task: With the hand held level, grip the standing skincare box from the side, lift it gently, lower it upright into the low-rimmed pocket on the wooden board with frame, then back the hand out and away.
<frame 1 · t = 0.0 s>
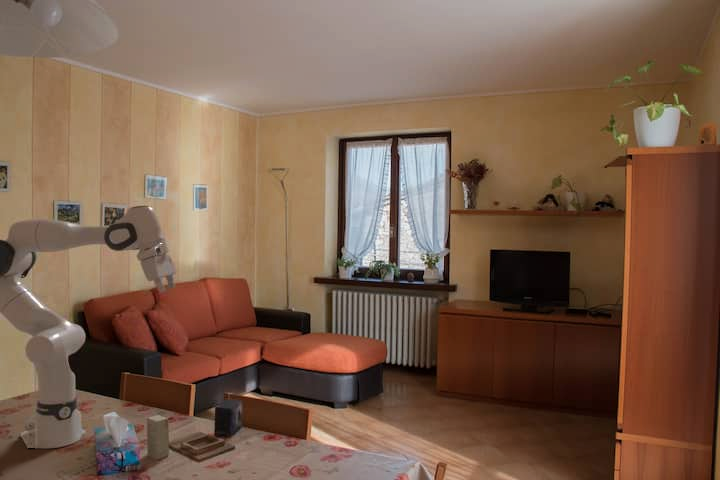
hand: (167, 290, 196), 52 cm above the table, tool tilted 20°, fingers open, 8 cm apart
wooden board with frame: (199, 446, 194), on the table
small box: (228, 432, 208), on the table
skincare box: (157, 456, 186), on the table
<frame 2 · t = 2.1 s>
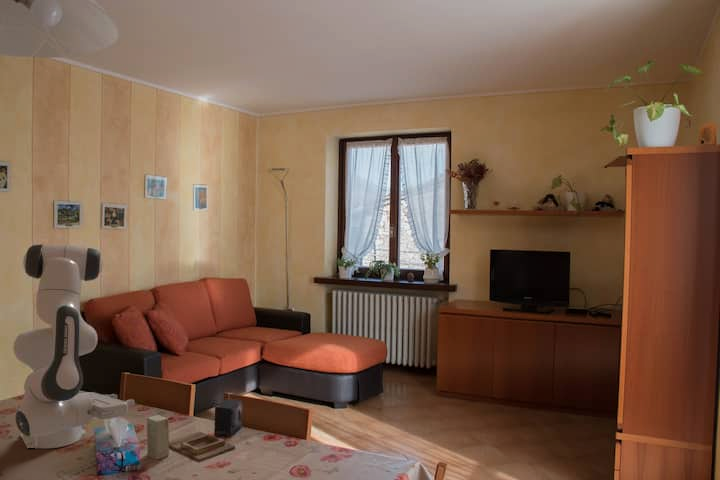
hand: (124, 399, 177), 21 cm above the table, tool horizontal, fingers open, 8 cm apart
nothing on the table moved.
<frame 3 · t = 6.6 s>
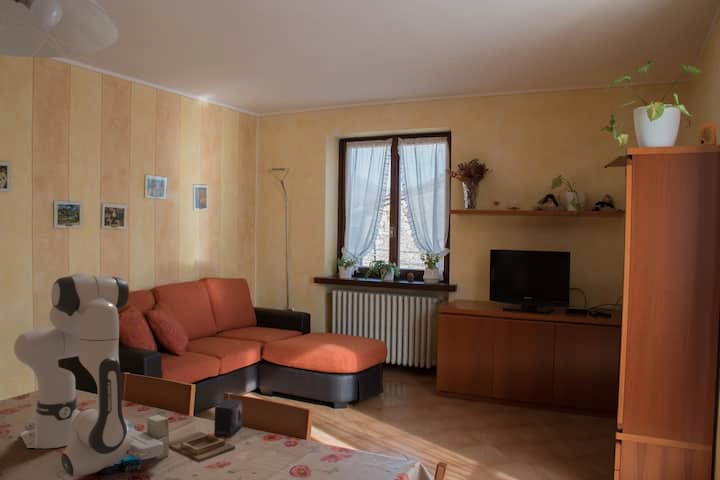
hand: (160, 436, 187), 6 cm above the table, tool horizontal, fingers closed on skincare box, 6 cm apart
skincare box: (157, 455, 186), on the table, touching gripper
everything else where it was.
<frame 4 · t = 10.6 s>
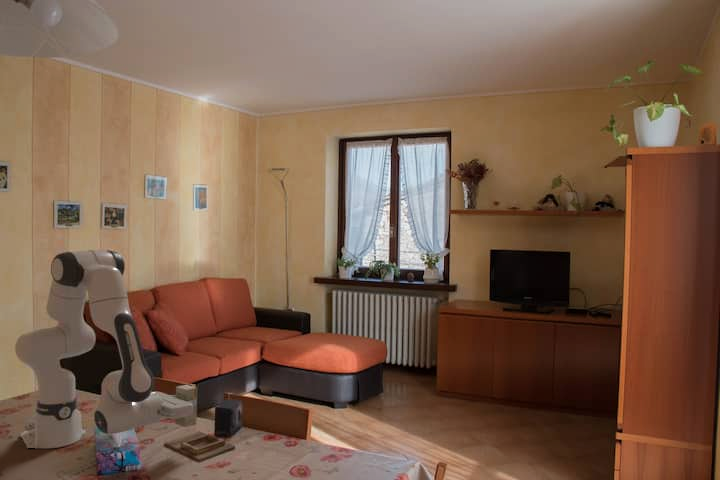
hand: (188, 399, 190), 17 cm above the table, tool horizontal, fingers closed on skincare box, 6 cm apart
skincare box: (185, 424, 189), point 9 cm above the table, touching gripper
everything else where it was.
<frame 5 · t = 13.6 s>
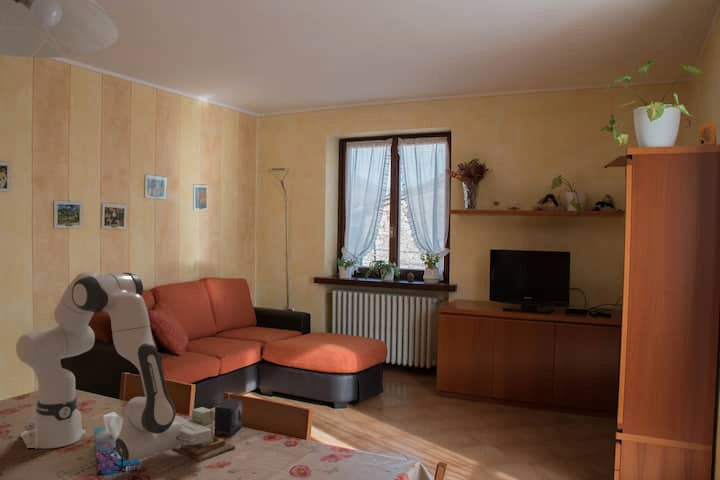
hand: (205, 423, 193), 8 cm above the table, tool horizontal, fingers closed on skincare box, 6 cm apart
skincare box: (202, 446, 192), point 1 cm above the table, touching gripper, wooden board with frame
everything else where it was.
when the fingers open (8 cm above the table, at t = 14.0 s): skincare box stays where it is, resting on wooden board with frame.
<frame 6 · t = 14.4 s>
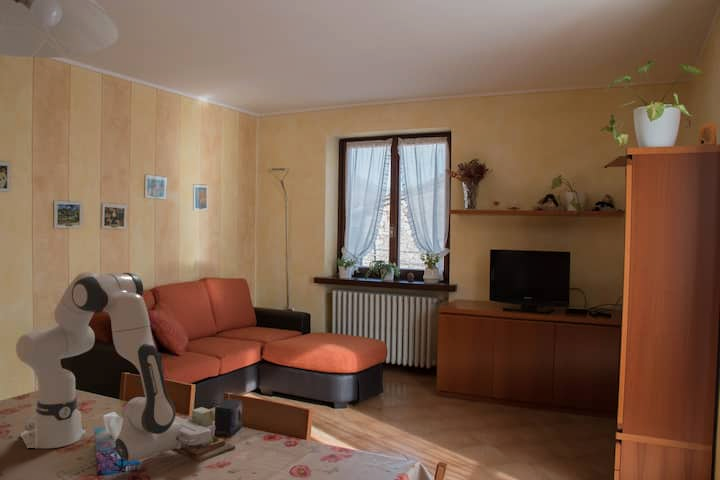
hand: (205, 423, 193), 8 cm above the table, tool horizontal, fingers open, 8 cm apart
skincare box: (202, 446, 192), point 1 cm above the table, touching wooden board with frame
everything else where it was.
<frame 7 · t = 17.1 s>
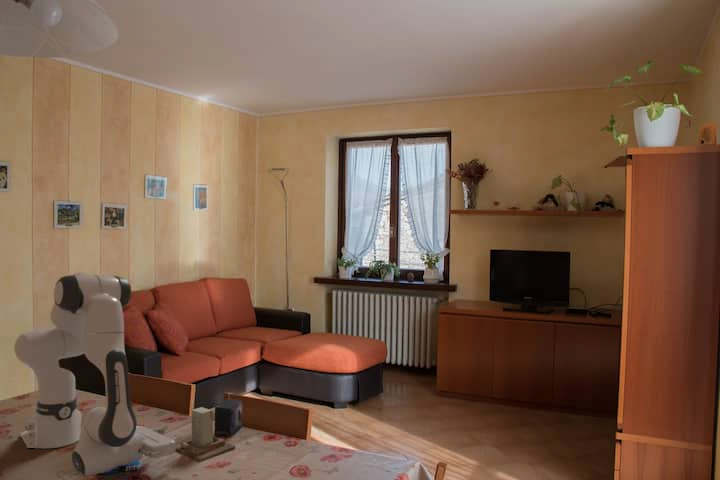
hand: (172, 434, 183), 8 cm above the table, tool horizontal, fingers open, 8 cm apart
nothing on the table moved.
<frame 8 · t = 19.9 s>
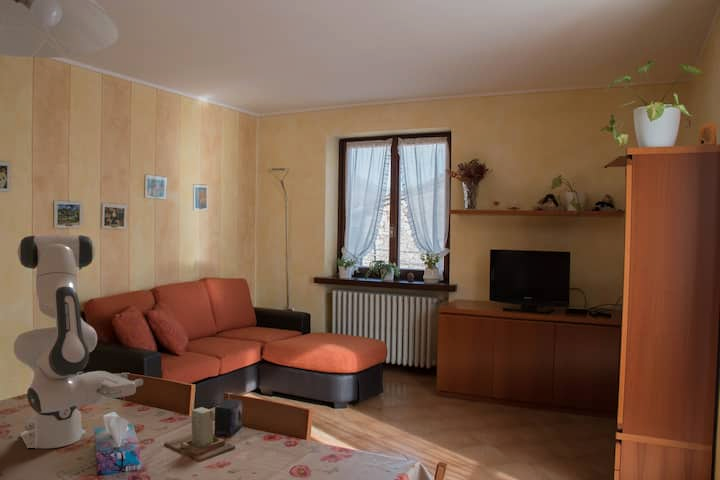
hand: (134, 378, 181), 26 cm above the table, tool horizontal, fingers open, 8 cm apart
nothing on the table moved.
at the end: skincare box 0.4 cm from the target spot on the wooden board with frame, point 0.6 cm above the wooden board with frame's base; skincare box tilted 0°; the gripper is holding nothing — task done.
